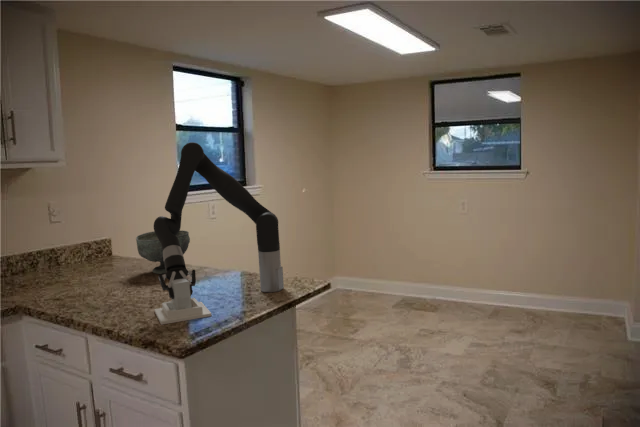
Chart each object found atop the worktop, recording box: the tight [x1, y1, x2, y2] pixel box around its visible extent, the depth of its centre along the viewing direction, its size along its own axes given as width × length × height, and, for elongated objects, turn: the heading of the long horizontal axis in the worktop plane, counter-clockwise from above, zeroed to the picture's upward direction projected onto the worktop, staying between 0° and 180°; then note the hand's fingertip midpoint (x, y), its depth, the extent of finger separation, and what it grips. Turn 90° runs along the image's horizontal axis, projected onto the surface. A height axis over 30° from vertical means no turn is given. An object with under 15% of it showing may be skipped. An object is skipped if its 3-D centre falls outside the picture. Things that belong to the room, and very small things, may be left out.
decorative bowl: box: [135, 230, 191, 275], centre depth 274 cm, size 27×26×20 cm
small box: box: [170, 279, 192, 310], centre depth 198 cm, size 8×6×10 cm
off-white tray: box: [153, 297, 212, 326], centre depth 199 cm, size 18×18×4 cm
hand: (181, 296), depth 197 cm, fingers closed on small box, 5 cm apart
